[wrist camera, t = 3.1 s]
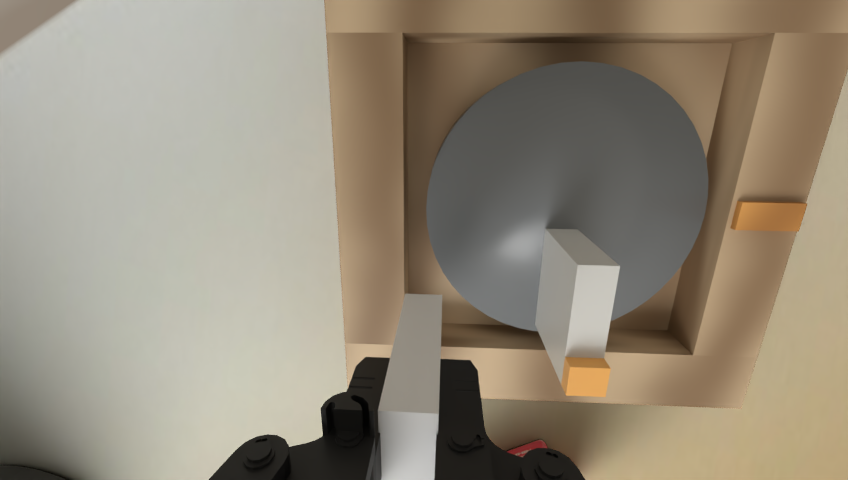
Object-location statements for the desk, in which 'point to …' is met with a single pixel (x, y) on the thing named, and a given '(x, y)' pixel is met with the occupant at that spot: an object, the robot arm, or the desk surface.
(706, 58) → the wooden tray
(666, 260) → the dial
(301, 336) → the desk surface
